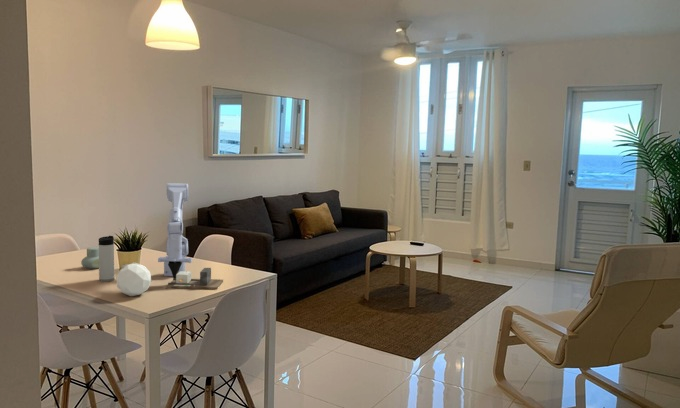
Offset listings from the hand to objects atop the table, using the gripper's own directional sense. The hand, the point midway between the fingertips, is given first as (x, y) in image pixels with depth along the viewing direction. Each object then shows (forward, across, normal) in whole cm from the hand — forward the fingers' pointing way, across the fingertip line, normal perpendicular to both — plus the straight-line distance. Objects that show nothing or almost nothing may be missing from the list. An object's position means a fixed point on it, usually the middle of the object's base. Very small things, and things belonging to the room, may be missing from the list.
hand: (175, 278), depth 228 cm
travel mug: (+3, -32, +4) cm, 32 cm away
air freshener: (+3, -48, +26) cm, 55 cm away
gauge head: (+2, +4, -1) cm, 4 cm away
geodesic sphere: (+3, -12, -17) cm, 21 cm away
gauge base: (+3, +9, 0) cm, 9 cm away
